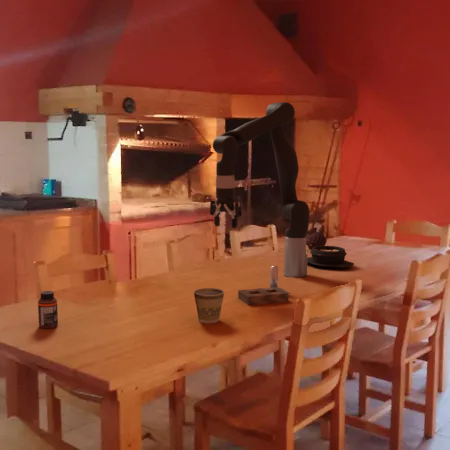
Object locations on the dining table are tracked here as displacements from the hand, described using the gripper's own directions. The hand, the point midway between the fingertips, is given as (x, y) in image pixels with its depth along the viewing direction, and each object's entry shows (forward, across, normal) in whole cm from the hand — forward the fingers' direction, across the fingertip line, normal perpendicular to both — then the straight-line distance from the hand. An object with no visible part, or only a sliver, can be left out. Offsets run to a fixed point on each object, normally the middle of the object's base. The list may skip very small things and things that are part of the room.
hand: (225, 226), depth 255 cm
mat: (+25, -20, -4) cm, 32 cm away
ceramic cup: (+24, -24, +39) cm, 52 cm away
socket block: (+24, -24, +9) cm, 36 cm away
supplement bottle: (+23, +11, +78) cm, 82 cm away
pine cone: (+26, +11, -91) cm, 96 cm away
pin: (+24, -20, -4) cm, 32 cm away
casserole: (+26, -12, -62) cm, 68 cm away
